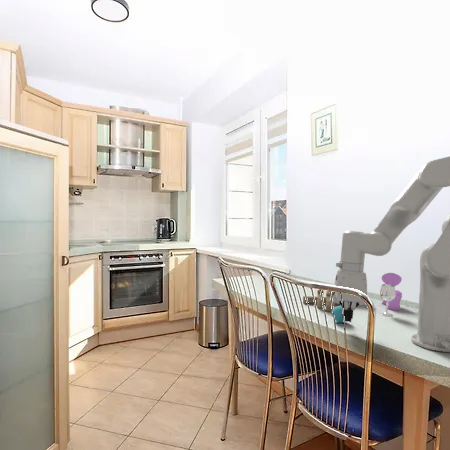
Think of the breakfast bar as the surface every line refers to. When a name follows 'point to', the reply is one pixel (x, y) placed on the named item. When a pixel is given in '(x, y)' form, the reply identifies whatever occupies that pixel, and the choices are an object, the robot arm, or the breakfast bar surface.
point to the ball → (338, 314)
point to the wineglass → (387, 296)
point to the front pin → (328, 302)
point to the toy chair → (395, 280)
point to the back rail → (310, 299)
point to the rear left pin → (319, 299)
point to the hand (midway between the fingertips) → (347, 320)
